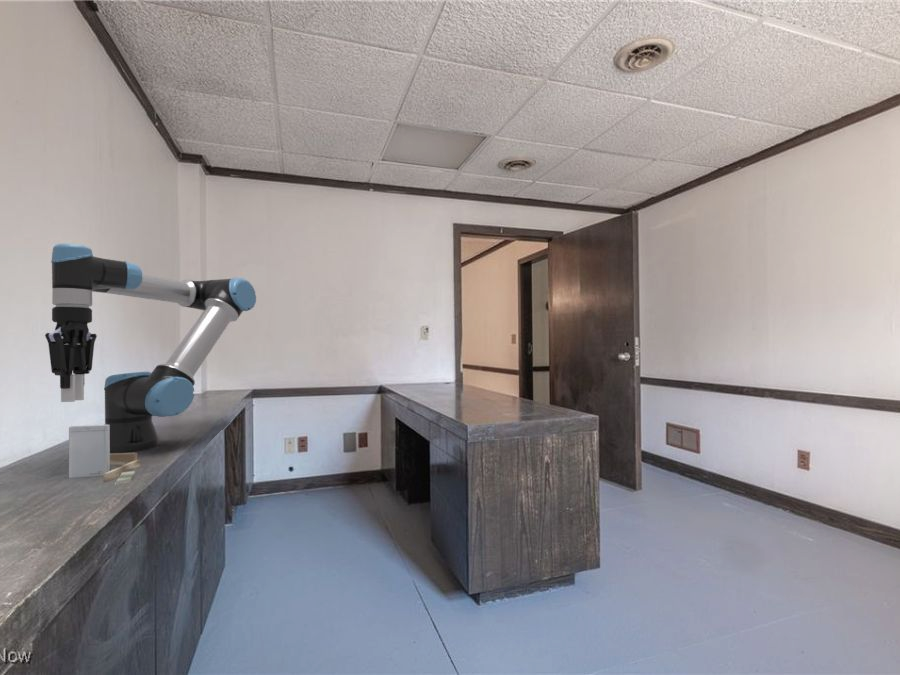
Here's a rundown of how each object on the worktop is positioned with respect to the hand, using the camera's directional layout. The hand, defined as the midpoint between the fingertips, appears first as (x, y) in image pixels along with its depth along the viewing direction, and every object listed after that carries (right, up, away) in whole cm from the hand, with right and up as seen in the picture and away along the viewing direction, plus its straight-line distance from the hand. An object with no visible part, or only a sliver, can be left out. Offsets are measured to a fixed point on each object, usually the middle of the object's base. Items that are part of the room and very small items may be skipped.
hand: (72, 400), depth 106 cm
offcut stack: (+16, -19, -4) cm, 25 cm away
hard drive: (+5, -19, -1) cm, 19 cm away
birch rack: (+7, -18, +1) cm, 20 cm away
